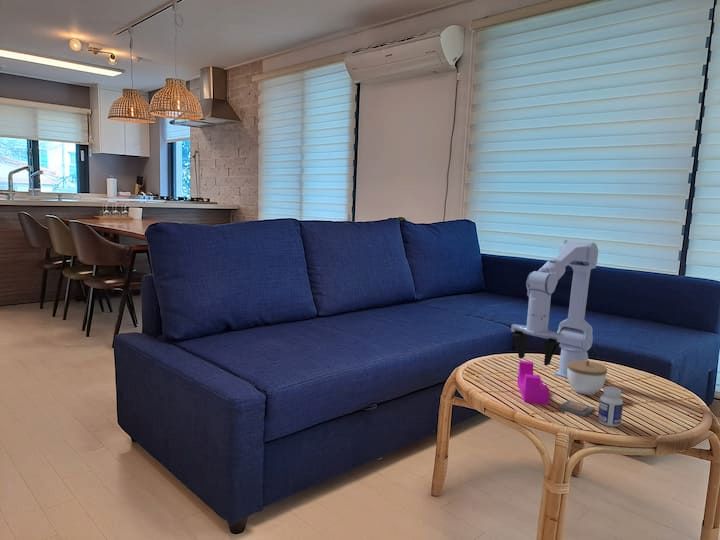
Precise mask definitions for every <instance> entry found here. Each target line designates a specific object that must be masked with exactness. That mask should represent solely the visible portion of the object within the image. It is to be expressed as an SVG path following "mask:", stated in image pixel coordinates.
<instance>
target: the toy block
mask: <svg viewBox="0 0 720 540" xmlns="http://www.w3.org/2000/svg"><path fill="white" fill-rule="evenodd" d="M518 363H519V364H518V375H517V387H518V389H519V392H520V394H521V398H522V400H523V403H529V404H539V405H544V406H545V405H547V406H548V405H549V397H550V388H549V386H548V384H544V382H543V380H542V379H541V377H540V375H539V374H534V363H533V361H526V360H519V362H518Z"/></svg>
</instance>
